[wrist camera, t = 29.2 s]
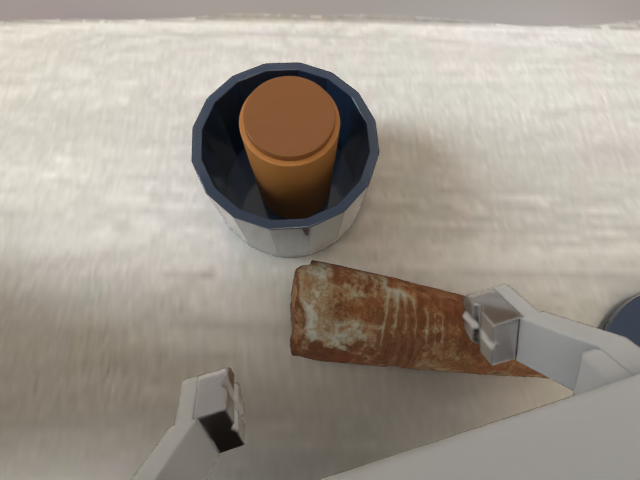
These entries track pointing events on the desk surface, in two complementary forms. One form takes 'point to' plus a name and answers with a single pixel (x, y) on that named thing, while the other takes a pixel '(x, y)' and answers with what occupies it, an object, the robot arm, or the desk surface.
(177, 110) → the desk surface
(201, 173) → the pot
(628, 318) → the pot lid
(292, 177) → the tall brown tube
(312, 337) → the bread
